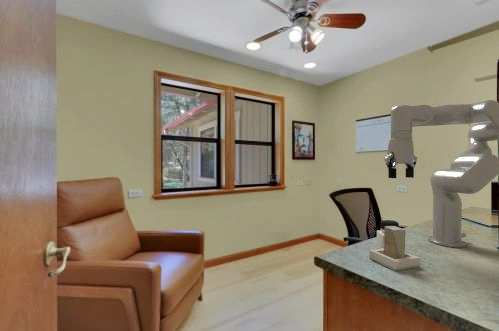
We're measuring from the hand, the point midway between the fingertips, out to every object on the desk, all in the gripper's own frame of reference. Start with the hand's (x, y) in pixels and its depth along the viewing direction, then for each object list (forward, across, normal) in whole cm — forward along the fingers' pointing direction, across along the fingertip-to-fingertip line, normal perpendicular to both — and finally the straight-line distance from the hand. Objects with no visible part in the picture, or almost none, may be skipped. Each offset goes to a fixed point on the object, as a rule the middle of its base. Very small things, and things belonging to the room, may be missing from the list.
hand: (401, 177), depth 99 cm
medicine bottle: (+28, +11, +4) cm, 30 cm away
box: (+27, +18, +12) cm, 35 cm away
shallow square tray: (+28, +18, +12) cm, 35 cm away
